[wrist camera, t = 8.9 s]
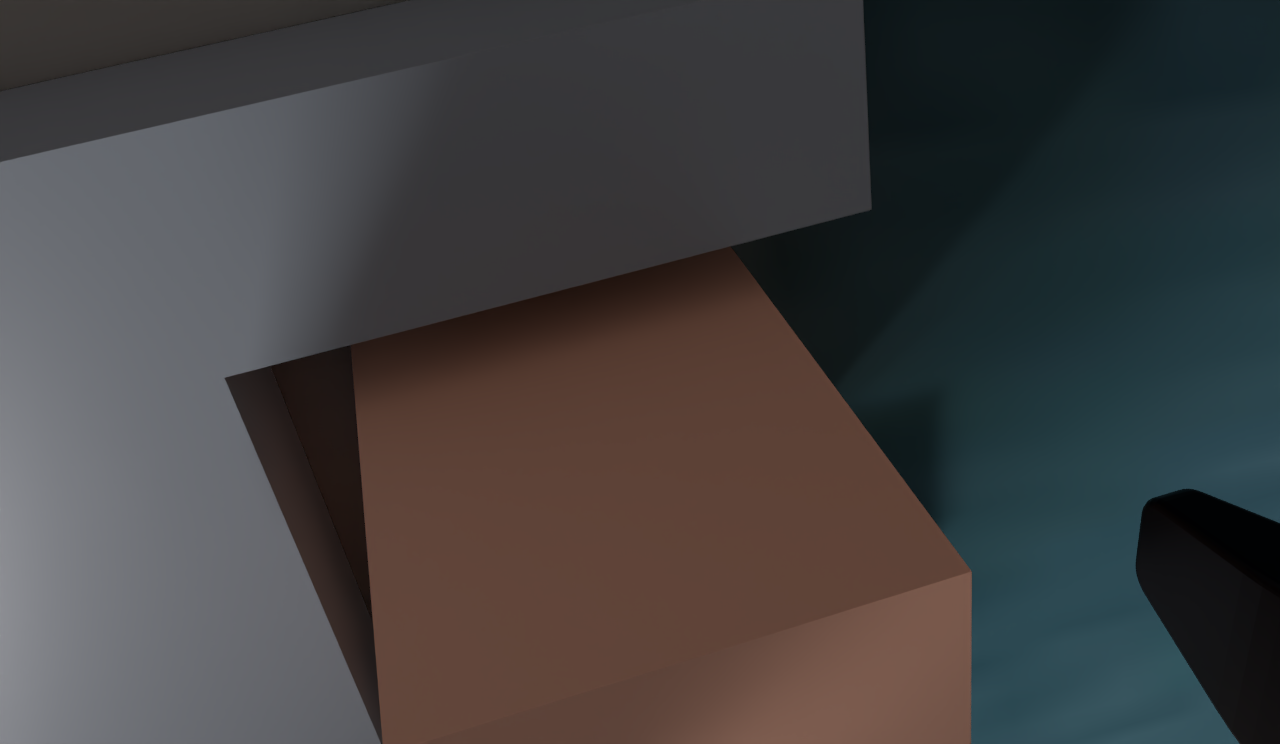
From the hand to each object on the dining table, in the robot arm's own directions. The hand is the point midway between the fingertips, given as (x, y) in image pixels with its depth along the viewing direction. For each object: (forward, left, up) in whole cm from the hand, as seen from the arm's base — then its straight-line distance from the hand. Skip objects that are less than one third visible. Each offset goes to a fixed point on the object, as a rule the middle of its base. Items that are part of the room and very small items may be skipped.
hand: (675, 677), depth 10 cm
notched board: (0, +2, -4) cm, 5 cm away
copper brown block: (0, 0, -4) cm, 4 cm away
